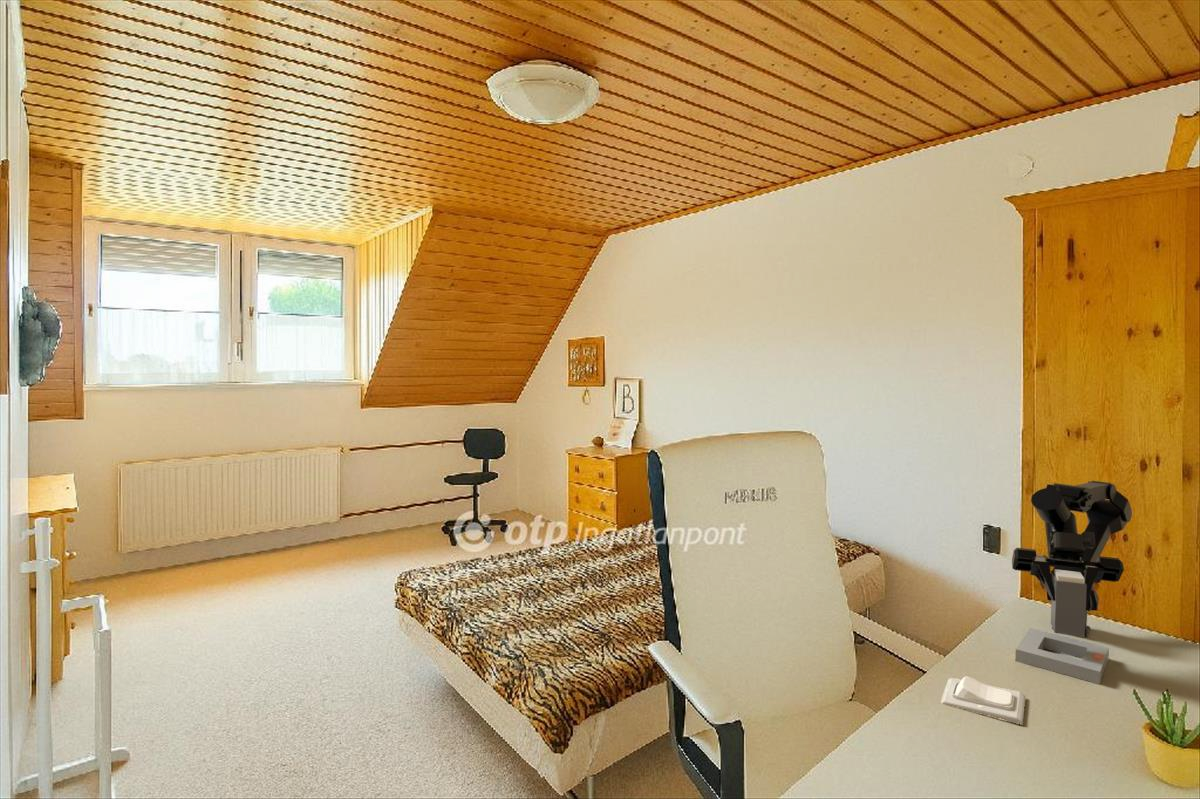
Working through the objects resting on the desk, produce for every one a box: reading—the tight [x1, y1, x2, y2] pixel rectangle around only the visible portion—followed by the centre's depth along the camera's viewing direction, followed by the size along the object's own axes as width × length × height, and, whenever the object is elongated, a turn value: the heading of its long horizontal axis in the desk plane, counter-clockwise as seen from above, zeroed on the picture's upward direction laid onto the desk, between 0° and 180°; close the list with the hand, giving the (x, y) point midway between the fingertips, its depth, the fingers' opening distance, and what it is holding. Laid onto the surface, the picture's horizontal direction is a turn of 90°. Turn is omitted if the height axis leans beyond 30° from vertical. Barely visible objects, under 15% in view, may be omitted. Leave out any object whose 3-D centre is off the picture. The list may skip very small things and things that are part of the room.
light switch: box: [940, 675, 1026, 726], centre depth 118 cm, size 11×4×13 cm
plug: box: [1050, 569, 1087, 638], centre depth 132 cm, size 5×5×12 cm
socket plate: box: [1014, 627, 1110, 685], centre depth 133 cm, size 14×14×3 cm
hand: (1069, 601), depth 131 cm, fingers closed on plug, 5 cm apart
